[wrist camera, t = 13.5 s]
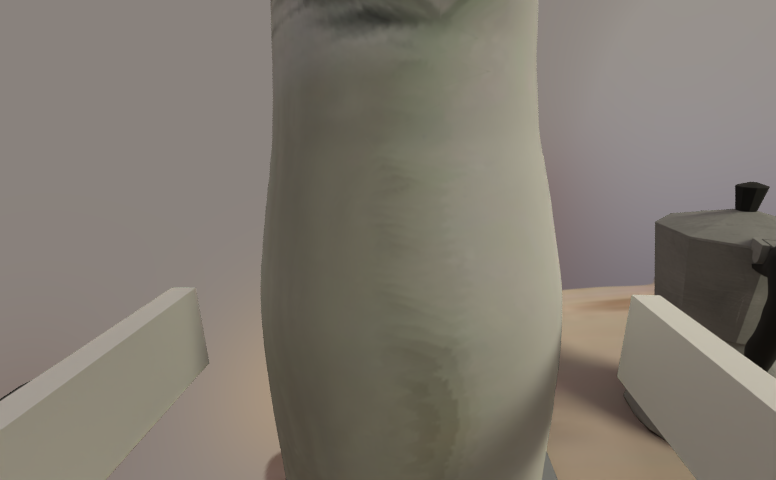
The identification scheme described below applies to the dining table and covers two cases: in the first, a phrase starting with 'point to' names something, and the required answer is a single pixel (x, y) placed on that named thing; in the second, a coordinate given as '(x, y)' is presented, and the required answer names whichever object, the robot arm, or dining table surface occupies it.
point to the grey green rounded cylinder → (409, 242)
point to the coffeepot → (722, 275)
